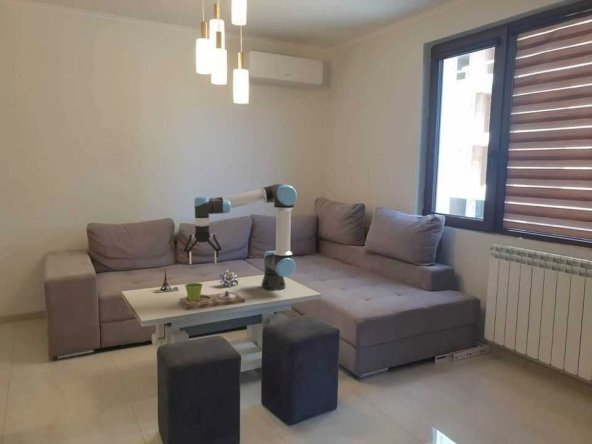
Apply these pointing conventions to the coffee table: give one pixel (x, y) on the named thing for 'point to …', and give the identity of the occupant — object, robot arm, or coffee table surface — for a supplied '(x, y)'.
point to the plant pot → (193, 291)
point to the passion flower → (228, 278)
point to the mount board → (212, 300)
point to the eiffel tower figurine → (167, 286)
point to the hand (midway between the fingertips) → (203, 263)
